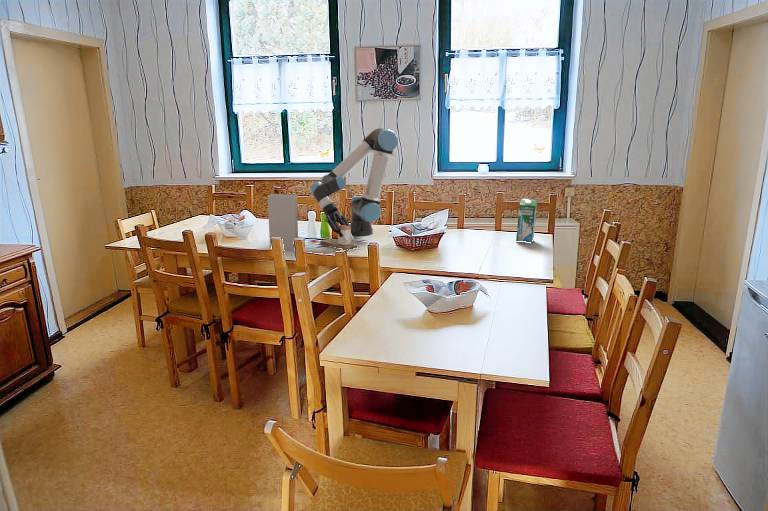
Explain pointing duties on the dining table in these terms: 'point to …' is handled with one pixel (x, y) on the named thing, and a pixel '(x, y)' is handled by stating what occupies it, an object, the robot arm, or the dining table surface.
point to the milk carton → (526, 220)
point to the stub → (347, 233)
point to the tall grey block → (283, 219)
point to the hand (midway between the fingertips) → (349, 240)
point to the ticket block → (334, 243)
